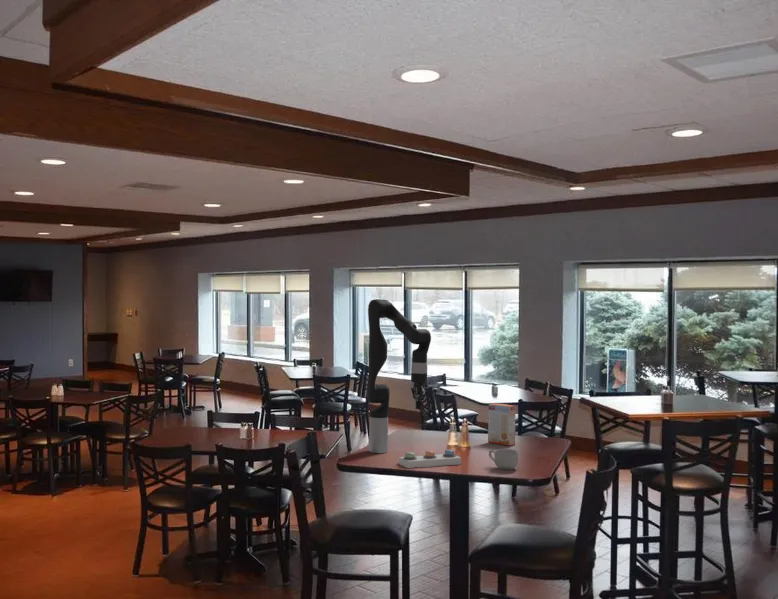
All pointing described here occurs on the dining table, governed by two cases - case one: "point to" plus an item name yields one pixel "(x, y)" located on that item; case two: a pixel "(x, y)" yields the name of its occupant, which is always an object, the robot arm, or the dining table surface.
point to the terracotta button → (430, 453)
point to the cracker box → (501, 424)
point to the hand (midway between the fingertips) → (418, 408)
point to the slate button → (449, 452)
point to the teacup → (505, 458)
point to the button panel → (429, 461)
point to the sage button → (409, 455)
